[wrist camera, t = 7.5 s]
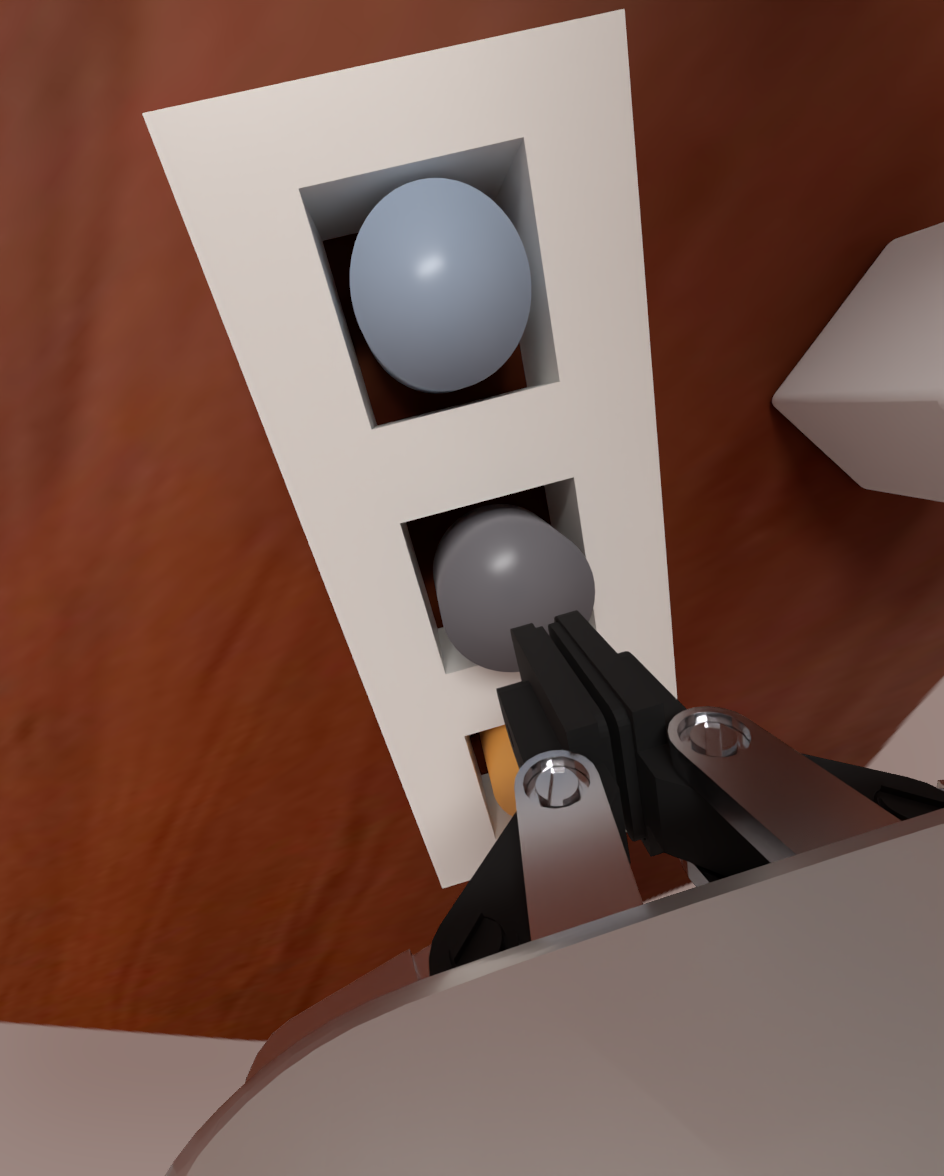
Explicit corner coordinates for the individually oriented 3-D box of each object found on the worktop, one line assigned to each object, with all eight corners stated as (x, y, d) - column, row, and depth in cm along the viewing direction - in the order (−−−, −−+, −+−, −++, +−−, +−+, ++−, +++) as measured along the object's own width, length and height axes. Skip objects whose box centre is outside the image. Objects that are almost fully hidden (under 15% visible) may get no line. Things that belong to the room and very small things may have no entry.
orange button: (468, 698, 22) (480, 748, 19) (570, 669, 22) (599, 713, 19) (491, 777, 24) (505, 835, 20) (584, 749, 24) (613, 803, 21)
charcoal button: (417, 523, 17) (421, 550, 14) (548, 488, 17) (583, 506, 14) (450, 641, 19) (461, 689, 16) (569, 608, 19) (604, 648, 16)
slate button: (338, 246, 15) (322, 201, 12) (488, 211, 15) (512, 157, 12) (385, 408, 17) (382, 408, 14) (517, 375, 17) (545, 366, 14)
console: (206, 187, 15) (142, 113, 11) (570, 105, 15) (624, 8, 12) (436, 818, 25) (442, 888, 22) (645, 755, 26) (685, 813, 22)
